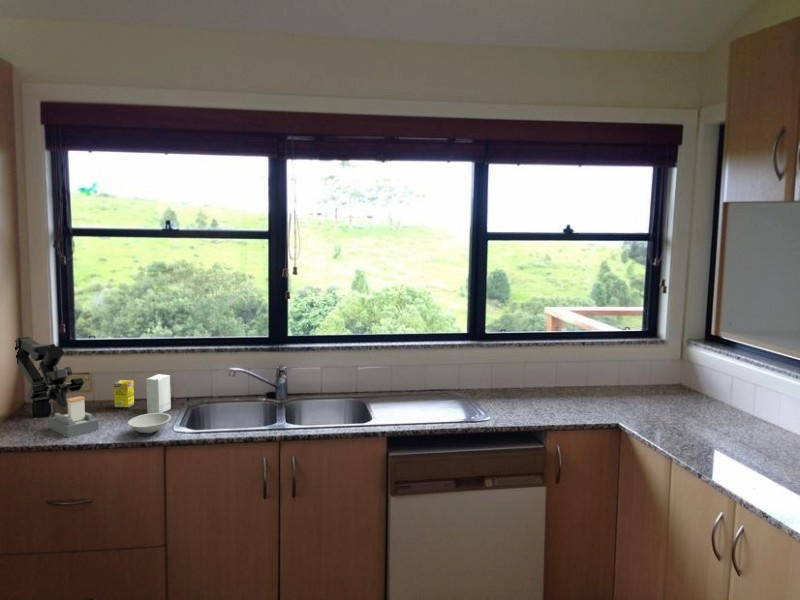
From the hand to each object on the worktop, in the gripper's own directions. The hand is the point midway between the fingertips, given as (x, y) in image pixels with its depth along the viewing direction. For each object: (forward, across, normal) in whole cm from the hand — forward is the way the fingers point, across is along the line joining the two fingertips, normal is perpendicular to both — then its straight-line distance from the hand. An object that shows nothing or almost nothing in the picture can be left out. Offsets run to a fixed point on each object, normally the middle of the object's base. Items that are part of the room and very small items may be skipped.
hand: (64, 406), depth 244 cm
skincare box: (+12, +34, -1) cm, 36 cm away
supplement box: (0, +28, +11) cm, 30 cm away
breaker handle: (+9, 0, -5) cm, 11 cm away
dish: (+28, +17, -17) cm, 37 cm away
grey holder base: (+10, 0, 0) cm, 10 cm away
